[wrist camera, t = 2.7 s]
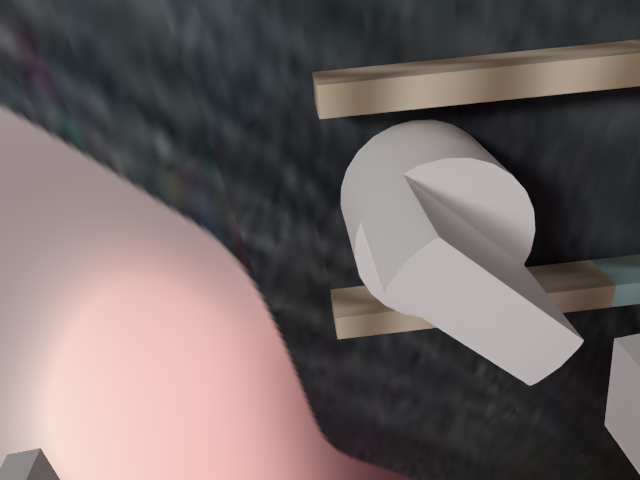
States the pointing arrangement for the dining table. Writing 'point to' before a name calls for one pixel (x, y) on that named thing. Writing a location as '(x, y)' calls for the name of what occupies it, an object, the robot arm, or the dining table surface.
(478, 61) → the bay
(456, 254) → the cylinder with rectangular tab
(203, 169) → the dining table surface
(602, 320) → the dining table surface
